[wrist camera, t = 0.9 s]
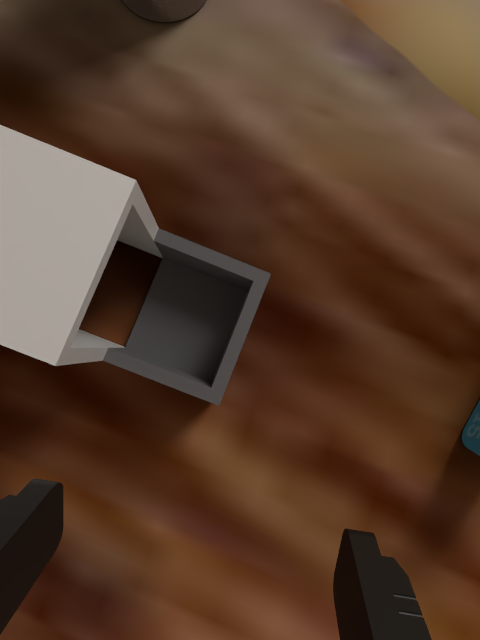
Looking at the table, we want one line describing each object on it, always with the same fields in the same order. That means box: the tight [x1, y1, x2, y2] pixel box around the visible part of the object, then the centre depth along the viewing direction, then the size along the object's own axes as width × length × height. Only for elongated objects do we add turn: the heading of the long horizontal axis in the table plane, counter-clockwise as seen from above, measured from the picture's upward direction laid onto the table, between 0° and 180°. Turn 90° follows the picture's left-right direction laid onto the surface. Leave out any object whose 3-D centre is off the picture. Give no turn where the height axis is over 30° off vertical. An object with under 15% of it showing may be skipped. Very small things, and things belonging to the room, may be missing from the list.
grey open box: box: [103, 229, 271, 406], centre depth 32 cm, size 10×9×6 cm
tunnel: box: [0, 125, 163, 366], centre depth 27 cm, size 10×11×14 cm
